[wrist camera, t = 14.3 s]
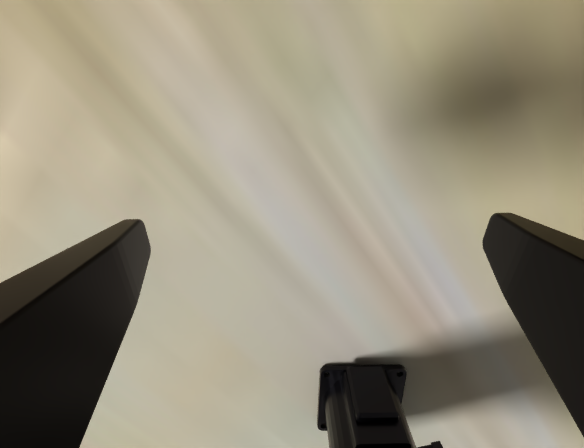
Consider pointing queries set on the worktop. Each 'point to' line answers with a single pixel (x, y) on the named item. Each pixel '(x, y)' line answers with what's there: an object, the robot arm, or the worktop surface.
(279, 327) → the worktop surface
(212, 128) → the worktop surface
